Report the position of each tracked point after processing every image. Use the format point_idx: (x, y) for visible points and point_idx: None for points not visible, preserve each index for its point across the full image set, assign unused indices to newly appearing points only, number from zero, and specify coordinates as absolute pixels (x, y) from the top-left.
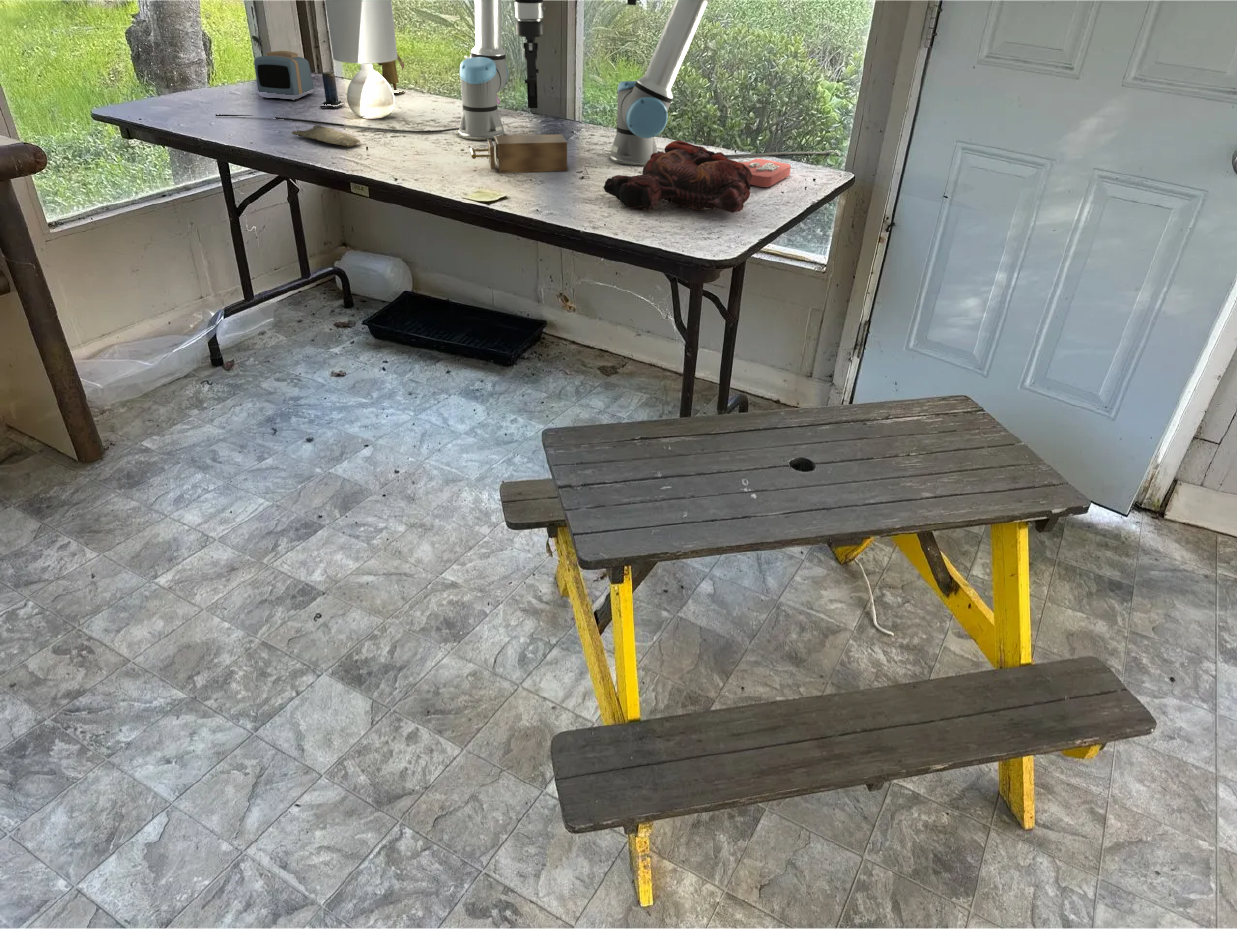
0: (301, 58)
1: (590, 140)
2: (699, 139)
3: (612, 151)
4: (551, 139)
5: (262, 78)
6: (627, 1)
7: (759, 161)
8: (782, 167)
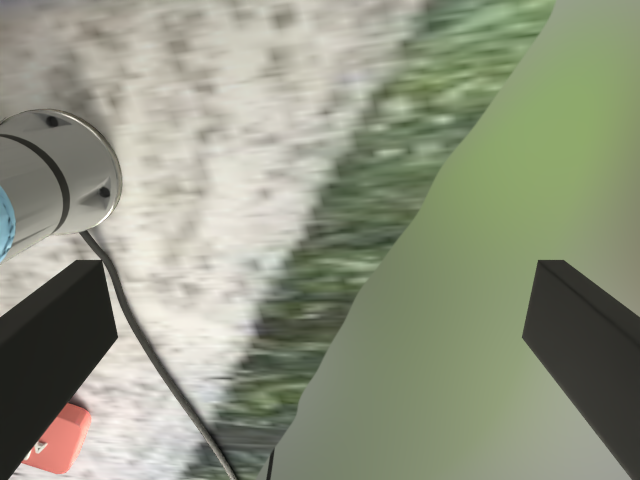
0: None
1: (218, 22)
2: (312, 309)
3: (6, 119)
4: None
5: None
6: (58, 274)
7: (59, 430)
8: (35, 462)
